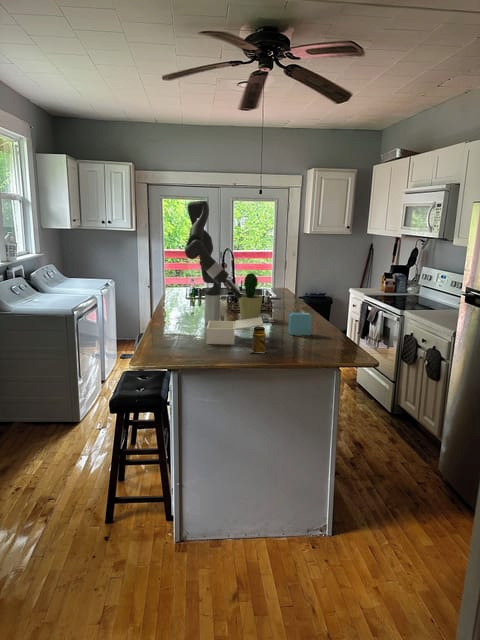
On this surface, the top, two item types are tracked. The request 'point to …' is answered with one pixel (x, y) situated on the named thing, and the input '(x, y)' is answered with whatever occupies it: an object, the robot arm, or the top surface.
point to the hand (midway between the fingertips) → (241, 297)
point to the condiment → (259, 339)
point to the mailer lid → (248, 323)
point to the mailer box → (220, 332)
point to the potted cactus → (250, 299)
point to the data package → (300, 324)
